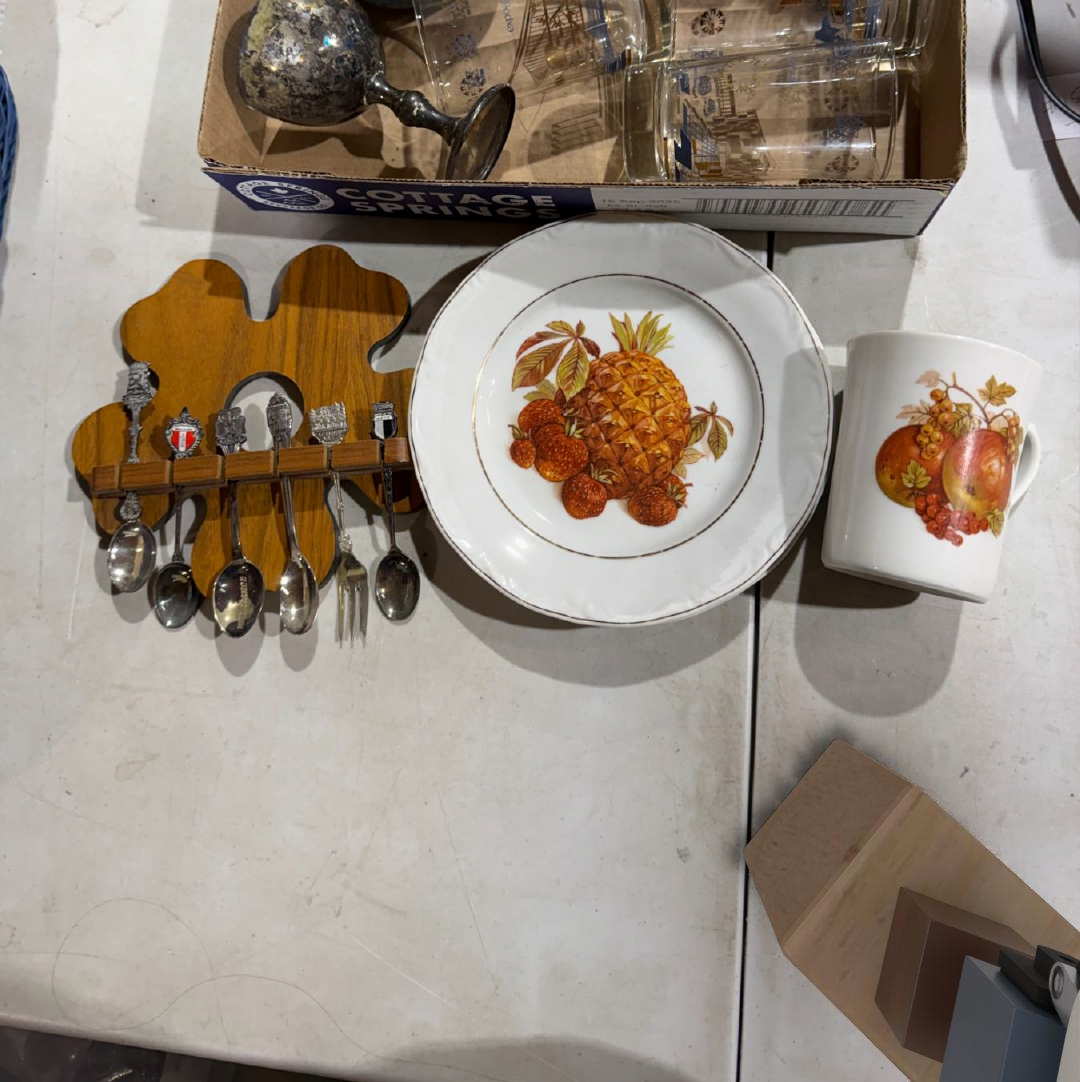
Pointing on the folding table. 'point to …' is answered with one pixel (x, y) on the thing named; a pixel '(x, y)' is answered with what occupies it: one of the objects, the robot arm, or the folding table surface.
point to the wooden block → (877, 883)
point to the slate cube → (999, 1032)
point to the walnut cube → (934, 967)
